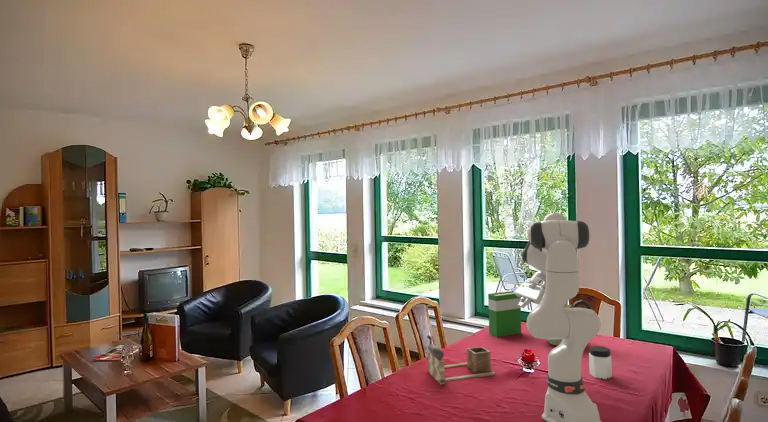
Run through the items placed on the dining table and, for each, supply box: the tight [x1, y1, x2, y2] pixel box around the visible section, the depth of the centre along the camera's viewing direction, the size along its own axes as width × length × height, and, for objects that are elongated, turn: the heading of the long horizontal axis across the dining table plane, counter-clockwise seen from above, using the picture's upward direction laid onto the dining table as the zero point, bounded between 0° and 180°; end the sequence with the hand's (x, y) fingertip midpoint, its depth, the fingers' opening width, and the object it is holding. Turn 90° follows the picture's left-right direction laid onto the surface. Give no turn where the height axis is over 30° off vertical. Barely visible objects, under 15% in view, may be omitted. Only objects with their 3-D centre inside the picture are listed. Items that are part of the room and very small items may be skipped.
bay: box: [426, 335, 496, 385], centre depth 204 cm, size 17×27×17 cm, turn 104°
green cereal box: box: [487, 290, 522, 338], centre depth 266 cm, size 18×7×24 cm, turn 112°
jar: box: [588, 345, 613, 380], centre depth 198 cm, size 9×8×12 cm
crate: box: [466, 346, 492, 374], centre depth 206 cm, size 8×8×9 cm
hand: (520, 306), depth 207 cm, fingers closed
